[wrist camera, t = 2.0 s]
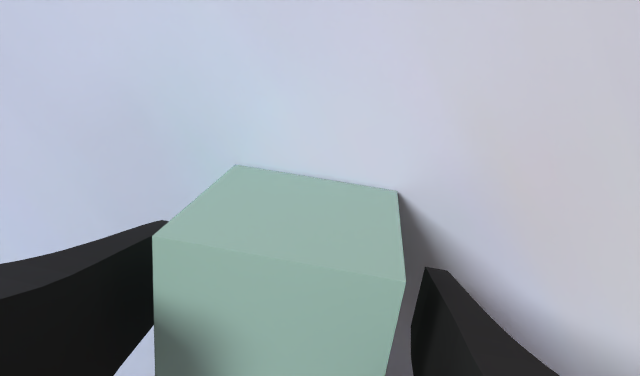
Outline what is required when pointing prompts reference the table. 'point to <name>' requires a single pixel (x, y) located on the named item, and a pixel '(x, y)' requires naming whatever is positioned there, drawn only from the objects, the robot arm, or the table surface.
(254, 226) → the green cube
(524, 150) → the table surface
